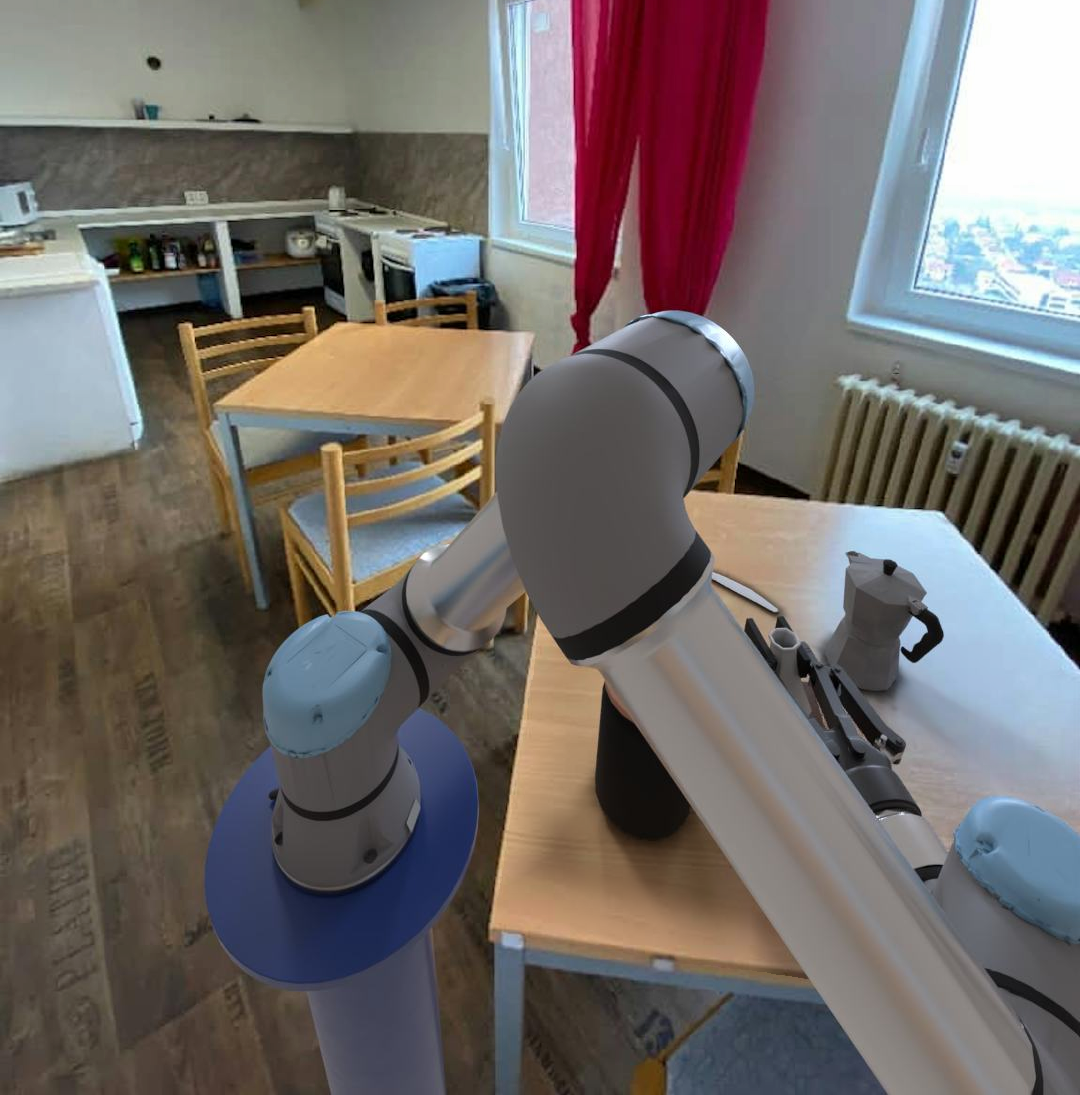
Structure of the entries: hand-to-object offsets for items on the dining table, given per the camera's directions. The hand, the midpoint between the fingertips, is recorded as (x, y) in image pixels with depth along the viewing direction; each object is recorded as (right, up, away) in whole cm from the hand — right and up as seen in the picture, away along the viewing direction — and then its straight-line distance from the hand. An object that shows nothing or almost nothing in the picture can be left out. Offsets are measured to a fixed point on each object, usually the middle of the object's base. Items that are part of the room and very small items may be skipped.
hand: (763, 626), depth 73 cm
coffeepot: (+18, -11, +11) cm, 24 cm away
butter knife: (0, -3, +29) cm, 29 cm away
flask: (+1, -8, -2) cm, 9 cm away
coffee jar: (-16, -17, -5) cm, 24 cm away
